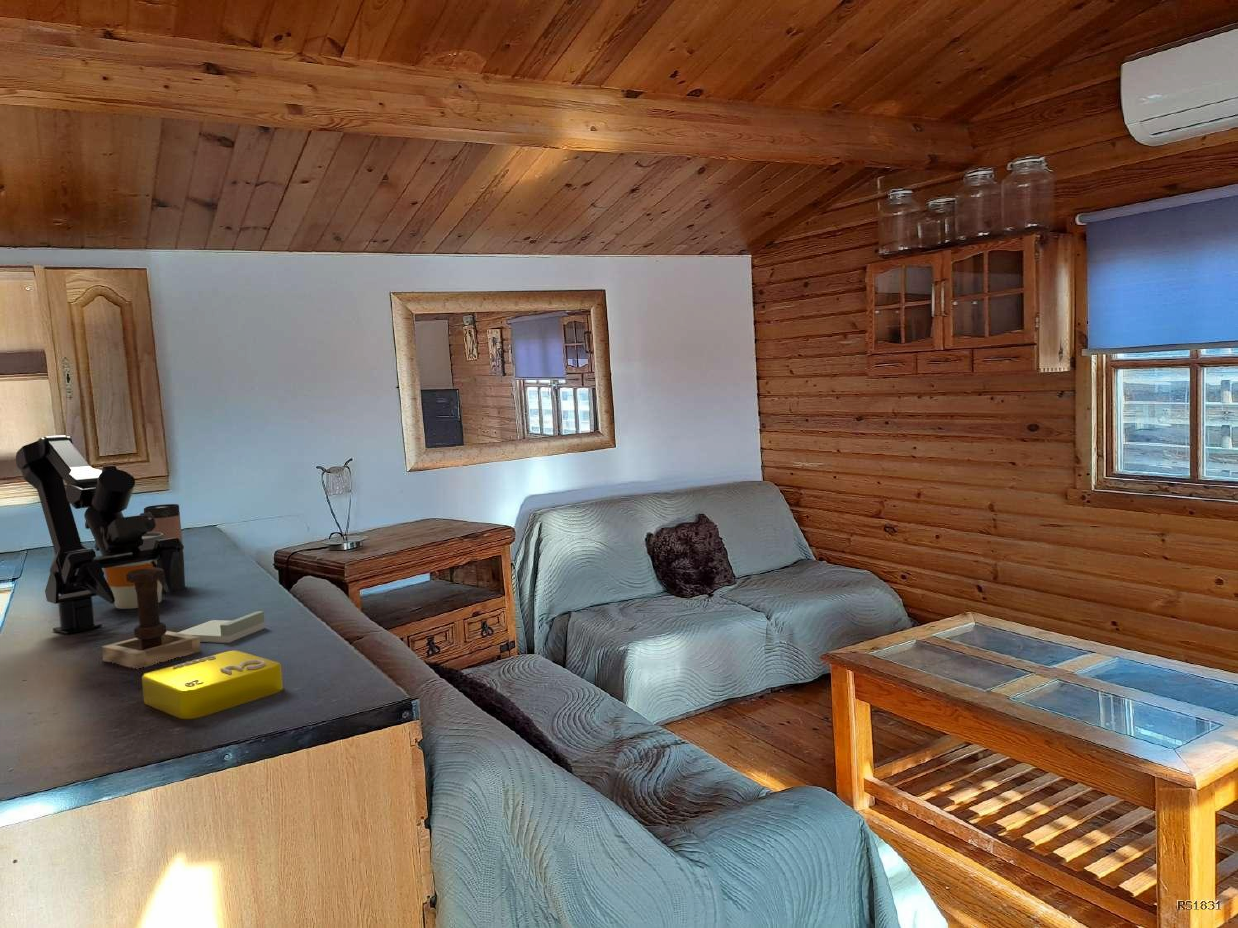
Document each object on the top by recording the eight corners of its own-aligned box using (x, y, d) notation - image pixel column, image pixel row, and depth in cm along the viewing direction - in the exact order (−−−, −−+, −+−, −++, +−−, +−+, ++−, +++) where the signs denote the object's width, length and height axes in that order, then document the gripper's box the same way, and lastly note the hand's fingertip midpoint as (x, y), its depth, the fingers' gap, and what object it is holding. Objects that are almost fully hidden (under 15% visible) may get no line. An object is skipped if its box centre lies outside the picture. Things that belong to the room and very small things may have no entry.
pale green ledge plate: (173, 640, 160) (172, 623, 160) (212, 625, 170) (211, 609, 170) (228, 642, 157) (227, 625, 157) (265, 627, 167) (263, 611, 166)
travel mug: (193, 586, 210) (186, 504, 209) (165, 593, 203) (157, 508, 202) (171, 584, 213) (164, 503, 212) (143, 591, 206) (135, 508, 205)
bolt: (153, 661, 147) (145, 573, 146) (127, 660, 148) (119, 574, 147) (177, 651, 153) (169, 567, 152) (152, 650, 154) (144, 567, 153)
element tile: (237, 675, 139) (235, 645, 139) (288, 691, 130) (286, 660, 129) (138, 703, 127) (135, 671, 127) (187, 723, 118) (184, 689, 118)
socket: (103, 660, 149) (101, 646, 149) (165, 643, 158) (164, 630, 158) (138, 669, 143) (136, 654, 143) (201, 651, 152) (199, 637, 152)
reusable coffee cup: (153, 594, 202) (147, 531, 201) (181, 600, 195) (175, 534, 194) (95, 606, 192) (89, 539, 191) (122, 613, 185) (116, 543, 183)
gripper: (60, 506, 146) (92, 577, 140) (174, 493, 161) (208, 557, 154) (48, 549, 152) (78, 619, 146) (159, 533, 166) (191, 596, 160)
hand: (141, 596), depth 151 cm, fingers open, 9 cm apart
